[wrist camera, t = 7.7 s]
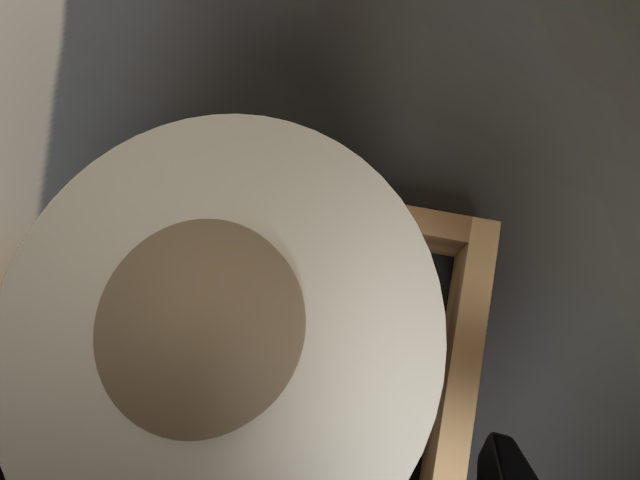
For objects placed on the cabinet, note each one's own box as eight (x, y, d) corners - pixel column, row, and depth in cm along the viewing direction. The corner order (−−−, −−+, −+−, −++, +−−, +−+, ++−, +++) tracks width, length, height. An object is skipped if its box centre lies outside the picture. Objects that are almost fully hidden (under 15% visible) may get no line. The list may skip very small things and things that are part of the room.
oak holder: (440, 528, 15) (454, 563, 12) (165, 443, 16) (130, 460, 14) (482, 239, 17) (501, 221, 15) (239, 193, 19) (220, 171, 17)
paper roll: (284, 422, 16) (-22, 692, 3) (254, 301, 18) (-42, 181, 5) (404, 385, 16) (543, 528, 3) (364, 266, 17) (354, 48, 5)
